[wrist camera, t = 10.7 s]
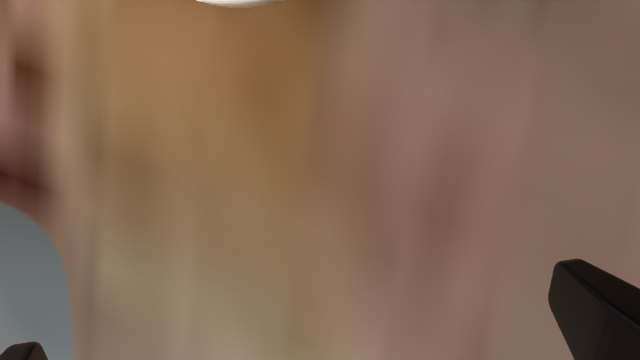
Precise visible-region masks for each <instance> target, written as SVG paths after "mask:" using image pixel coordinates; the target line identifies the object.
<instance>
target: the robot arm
mask: <svg viewBox="0 0 640 360" xmlns="http://www.w3.org/2000/svg"><path fill="white" fill-rule="evenodd" d="M548 300H549V305H550V308H551V311H552V313H553V315H554V317H555V319H556V321H557V323H558V326H559V328H560V330H561V332H562V334H563V336H564V338H565V340H566V343H567V345H568V347H569V349H570V351H571V353H572V355H573V358H574V360H640V289H639V288H637V287H635V286H633V285H631V284H629V283H627V282H625V281H623V280H621V279H619V278H617V277H615V276H614V275H612V274H610V273H608V272H606V271H604V270H602V269H600V268H598V267H596V266H594V265H592V264H590V263H588V262H586V261H584V260H581V259H571V260H564V261H560V262H557V264H556V265H555V267H554V270H553V275H552V280H551V285H550V289H549V295H548ZM0 360H48V358H47V356H46V354H45V352H44V350H43V348H42V346H41V345H40V344H39V343H38V342H27V343H21V344H15V345H12V346H10V347H9V348H7V349H6V350H5V351H4V352H3V353H2V354H1V355H0Z"/></svg>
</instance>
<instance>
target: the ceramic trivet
mask: <svg viewBox="0 0 640 360" xmlns="http://www.w3.org/2000/svg"><path fill="white" fill-rule="evenodd" d="M197 1H201V2H204V3H208V4H211V5H215V6H221V7H228V8H255V7H262V6H268V5H272V4H275V3H279V2H282V1H285V0H197Z"/></svg>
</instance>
